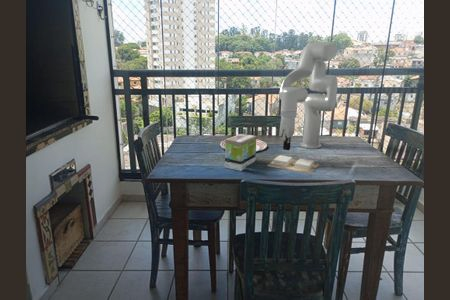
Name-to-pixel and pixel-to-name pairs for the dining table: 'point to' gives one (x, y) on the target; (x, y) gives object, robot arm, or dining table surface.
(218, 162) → the dining table surface
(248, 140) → the tea box
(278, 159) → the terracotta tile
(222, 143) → the dinner plate
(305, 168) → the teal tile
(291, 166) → the striped wooden board
